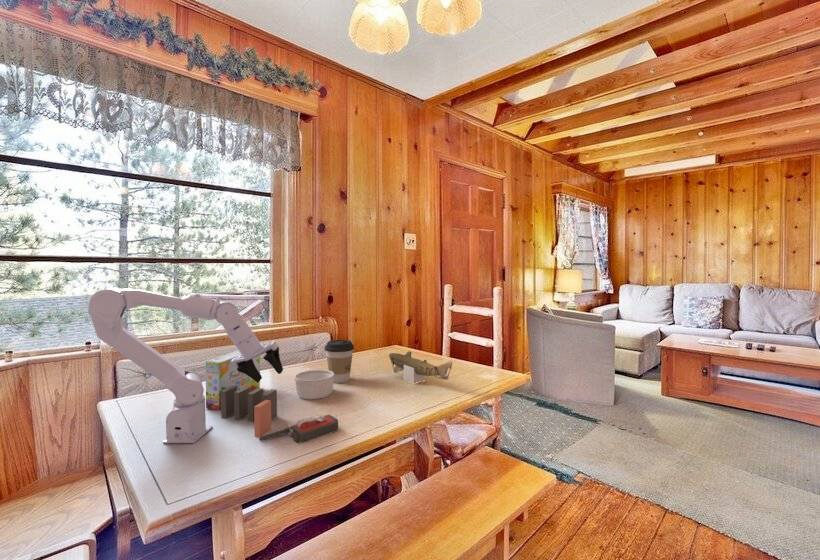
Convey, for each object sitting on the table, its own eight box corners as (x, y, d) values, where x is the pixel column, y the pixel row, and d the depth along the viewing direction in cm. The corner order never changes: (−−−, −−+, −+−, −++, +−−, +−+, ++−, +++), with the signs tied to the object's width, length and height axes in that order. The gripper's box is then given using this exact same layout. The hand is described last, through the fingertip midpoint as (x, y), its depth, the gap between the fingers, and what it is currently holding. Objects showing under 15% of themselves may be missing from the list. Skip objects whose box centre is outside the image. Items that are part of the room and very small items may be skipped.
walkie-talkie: (326, 420, 110) (257, 442, 97) (326, 405, 110) (257, 425, 97) (343, 430, 104) (272, 455, 90) (343, 414, 104) (271, 437, 90)
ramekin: (313, 386, 140) (313, 367, 140) (342, 391, 134) (342, 372, 134) (286, 397, 128) (286, 376, 128) (316, 404, 122) (316, 382, 122)
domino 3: (263, 414, 114) (263, 388, 113) (253, 421, 109) (252, 394, 108) (259, 414, 114) (258, 388, 114) (248, 421, 109) (247, 393, 109)
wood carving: (442, 397, 128) (442, 364, 128) (381, 373, 155) (381, 346, 155) (460, 391, 134) (460, 360, 134) (399, 369, 161) (399, 343, 160)
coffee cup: (349, 386, 140) (349, 345, 139) (319, 384, 142) (319, 344, 141) (358, 376, 151) (358, 339, 150) (330, 375, 153) (330, 338, 152)
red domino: (271, 429, 104) (270, 400, 103) (260, 437, 99) (259, 407, 99) (266, 428, 104) (265, 399, 104) (254, 436, 99) (254, 406, 99)
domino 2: (250, 413, 115) (250, 387, 114) (239, 420, 110) (238, 392, 109) (246, 412, 115) (245, 386, 115) (234, 419, 110) (234, 392, 110)
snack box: (221, 410, 117) (219, 362, 116) (205, 409, 118) (203, 361, 117) (261, 388, 138) (260, 347, 137) (247, 387, 139) (246, 346, 138)
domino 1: (237, 411, 116) (237, 386, 115) (226, 418, 111) (225, 391, 110) (233, 411, 116) (232, 385, 116) (221, 417, 111) (220, 391, 111)
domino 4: (277, 416, 112) (276, 389, 112) (266, 423, 108) (266, 395, 107) (272, 415, 113) (271, 389, 112) (261, 422, 108) (261, 395, 108)
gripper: (271, 322, 109) (295, 360, 113) (230, 340, 112) (256, 375, 116) (260, 335, 102) (287, 374, 106) (217, 353, 105) (245, 390, 109)
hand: (270, 376), depth 111 cm, fingers open, 7 cm apart
